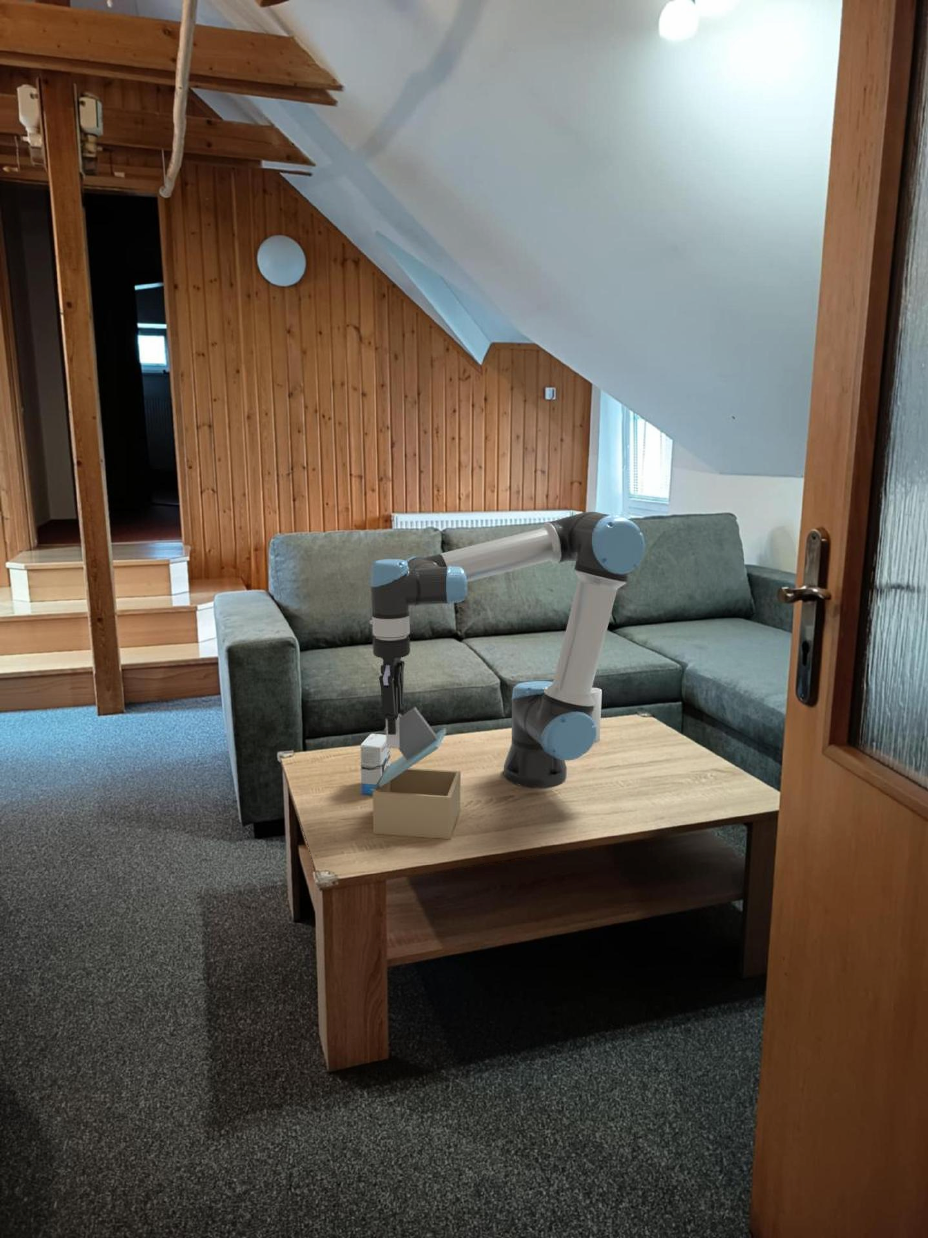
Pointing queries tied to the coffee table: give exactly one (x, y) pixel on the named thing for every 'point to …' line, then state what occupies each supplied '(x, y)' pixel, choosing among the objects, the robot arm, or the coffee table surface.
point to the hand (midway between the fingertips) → (394, 745)
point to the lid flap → (412, 744)
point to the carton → (418, 804)
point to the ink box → (373, 761)
